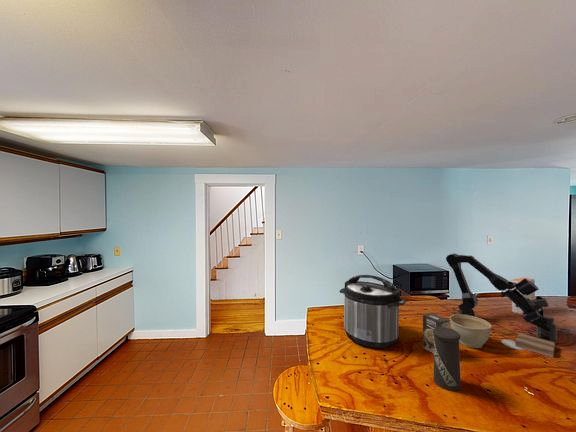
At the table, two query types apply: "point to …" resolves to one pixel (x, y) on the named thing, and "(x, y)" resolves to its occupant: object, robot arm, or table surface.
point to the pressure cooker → (371, 311)
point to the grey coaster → (511, 344)
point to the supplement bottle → (545, 334)
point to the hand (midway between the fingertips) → (550, 328)
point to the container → (446, 358)
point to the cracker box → (531, 296)
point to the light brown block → (535, 344)
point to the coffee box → (428, 325)
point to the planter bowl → (471, 330)
